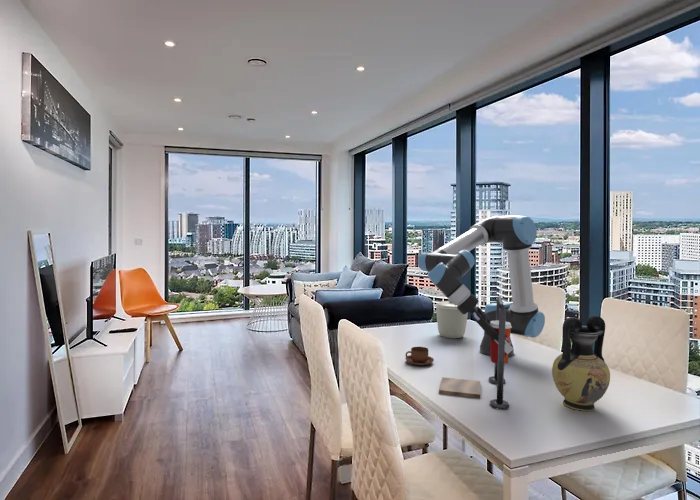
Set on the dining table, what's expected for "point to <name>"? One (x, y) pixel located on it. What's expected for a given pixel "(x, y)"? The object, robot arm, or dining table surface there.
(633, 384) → the dining table surface
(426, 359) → the cup and saucer
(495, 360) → the paper cup
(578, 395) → the amphora
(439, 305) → the canister
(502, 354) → the frame
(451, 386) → the walnut board
